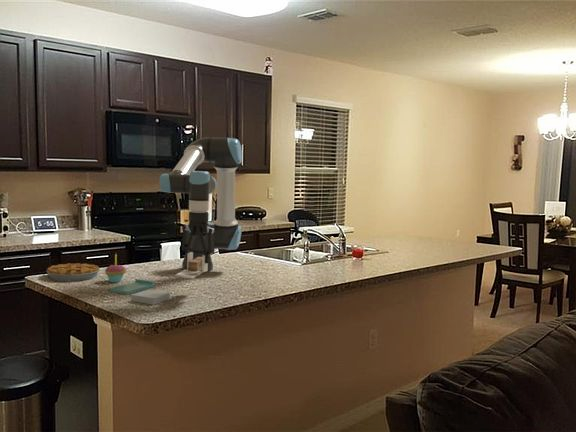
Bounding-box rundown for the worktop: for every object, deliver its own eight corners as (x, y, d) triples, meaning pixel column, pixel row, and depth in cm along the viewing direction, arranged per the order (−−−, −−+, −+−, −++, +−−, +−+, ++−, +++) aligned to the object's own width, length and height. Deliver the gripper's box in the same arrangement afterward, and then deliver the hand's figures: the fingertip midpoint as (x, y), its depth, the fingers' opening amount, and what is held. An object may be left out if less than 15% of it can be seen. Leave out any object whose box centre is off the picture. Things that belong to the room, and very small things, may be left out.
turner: (194, 265, 215) (194, 256, 215) (210, 267, 214) (211, 257, 214) (174, 276, 194) (174, 266, 194) (192, 278, 193) (193, 267, 192)
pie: (95, 270, 247) (95, 260, 246) (103, 280, 228) (103, 269, 227) (44, 273, 236) (44, 262, 236) (47, 283, 217) (47, 271, 217)
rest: (136, 283, 223) (136, 278, 223) (154, 286, 219) (154, 281, 219) (109, 291, 208) (109, 285, 208) (127, 294, 205) (127, 288, 205)
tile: (148, 289, 204) (131, 294, 195) (169, 292, 200) (153, 298, 191) (148, 296, 205) (131, 301, 195) (169, 299, 201) (153, 305, 192)
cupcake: (104, 279, 229) (105, 252, 228) (125, 278, 232) (125, 251, 231) (105, 283, 221) (105, 255, 220) (126, 283, 224) (127, 255, 223)
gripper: (225, 212, 203) (223, 271, 205) (183, 208, 211) (182, 265, 213) (214, 214, 196) (213, 275, 199) (172, 210, 204) (171, 268, 206)
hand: (197, 270), depth 206 cm, fingers closed on turner, 6 cm apart
